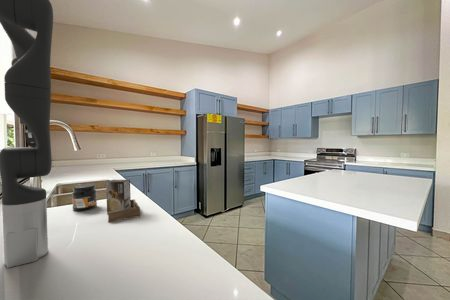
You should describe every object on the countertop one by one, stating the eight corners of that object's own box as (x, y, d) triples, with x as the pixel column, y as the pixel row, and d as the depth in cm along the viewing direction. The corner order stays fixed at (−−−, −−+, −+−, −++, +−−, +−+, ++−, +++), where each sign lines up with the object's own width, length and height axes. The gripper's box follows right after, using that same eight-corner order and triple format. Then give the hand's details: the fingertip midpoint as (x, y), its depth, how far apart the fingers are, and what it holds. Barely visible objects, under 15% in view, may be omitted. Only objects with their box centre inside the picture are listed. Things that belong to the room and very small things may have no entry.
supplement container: (77, 213, 95) (77, 189, 95) (69, 209, 101) (68, 186, 100) (100, 207, 104) (100, 185, 104) (91, 203, 110) (91, 183, 109)
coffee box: (131, 210, 99) (131, 179, 98) (125, 214, 93) (124, 181, 92) (113, 210, 99) (113, 179, 99) (106, 214, 93) (105, 181, 92)
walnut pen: (139, 216, 91) (139, 207, 91) (108, 222, 84) (108, 213, 84) (134, 206, 105) (134, 199, 105) (107, 211, 98) (106, 203, 98)
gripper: (42, 111, 71) (44, 158, 71) (50, 115, 82) (51, 156, 82) (13, 109, 66) (15, 159, 67) (25, 114, 77) (26, 156, 78)
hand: (35, 157), depth 75 cm, fingers closed
